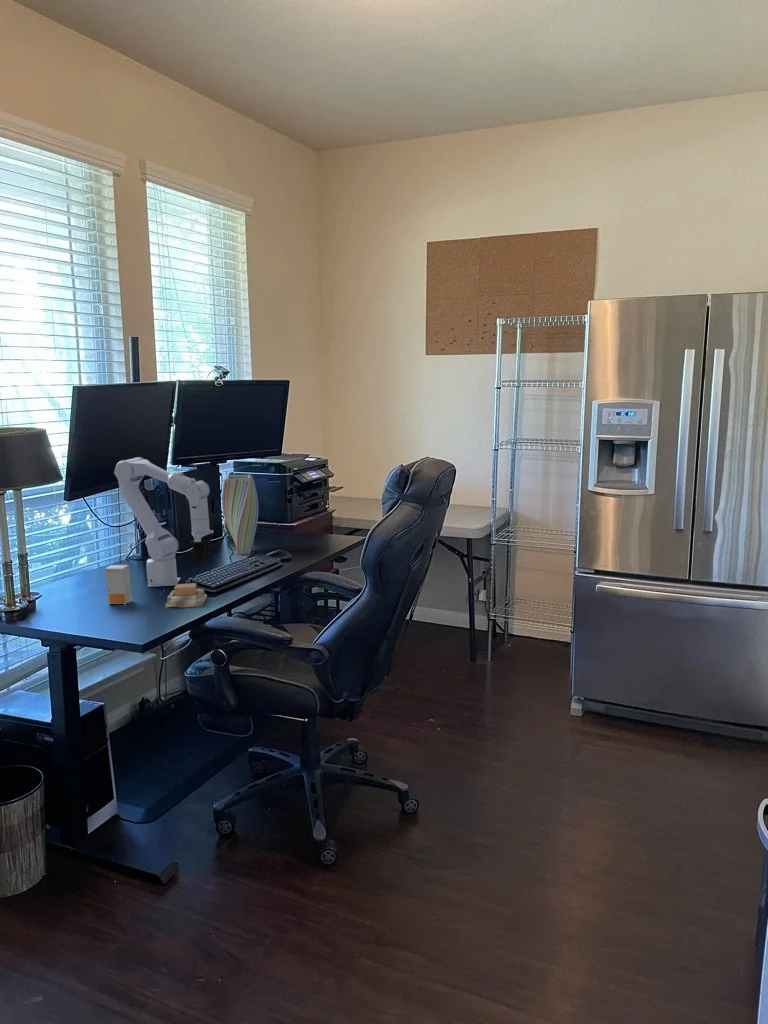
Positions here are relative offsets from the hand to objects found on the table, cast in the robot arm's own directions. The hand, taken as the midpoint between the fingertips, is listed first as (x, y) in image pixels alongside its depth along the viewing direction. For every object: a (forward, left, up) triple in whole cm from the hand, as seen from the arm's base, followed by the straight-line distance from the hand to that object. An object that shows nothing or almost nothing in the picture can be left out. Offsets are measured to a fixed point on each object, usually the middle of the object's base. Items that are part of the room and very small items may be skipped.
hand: (203, 558), depth 248 cm
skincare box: (-24, -15, -10) cm, 30 cm away
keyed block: (-3, -18, -8) cm, 20 cm away
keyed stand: (-3, -18, -9) cm, 20 cm away
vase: (+8, +42, -10) cm, 44 cm away
